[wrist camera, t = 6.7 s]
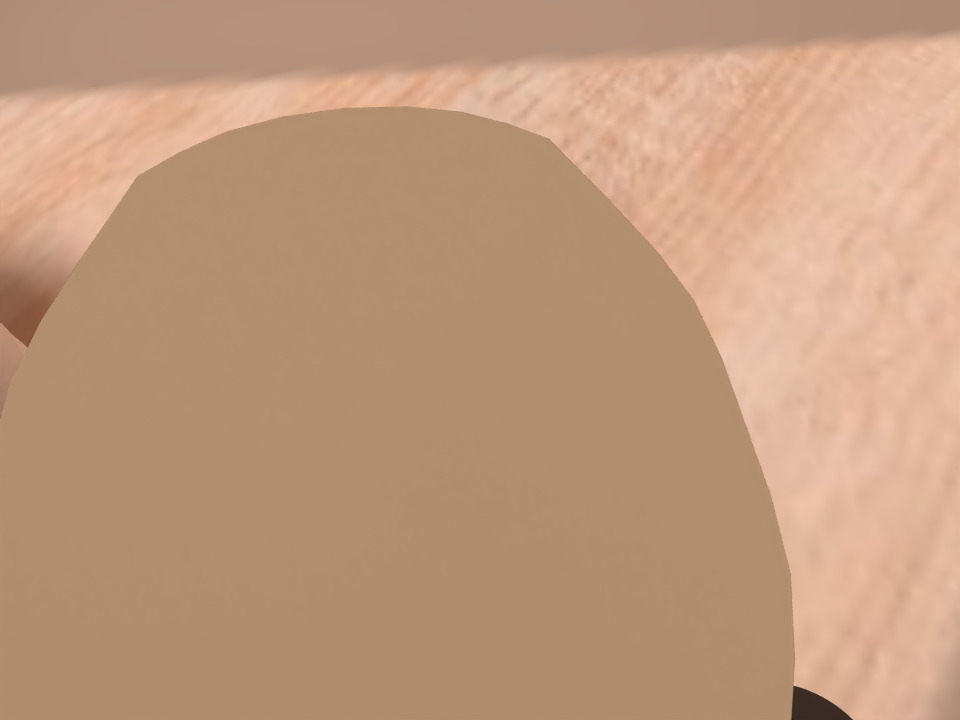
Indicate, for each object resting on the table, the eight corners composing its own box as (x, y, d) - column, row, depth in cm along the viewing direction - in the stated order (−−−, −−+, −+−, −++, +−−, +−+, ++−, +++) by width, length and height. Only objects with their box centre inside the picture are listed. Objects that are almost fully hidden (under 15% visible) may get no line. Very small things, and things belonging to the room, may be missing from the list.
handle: (497, 527, 20) (624, 85, 6) (547, 801, 17) (966, 1043, 3) (317, 555, 19) (36, 133, 6) (335, 843, 16) (-132, 1330, 3)
